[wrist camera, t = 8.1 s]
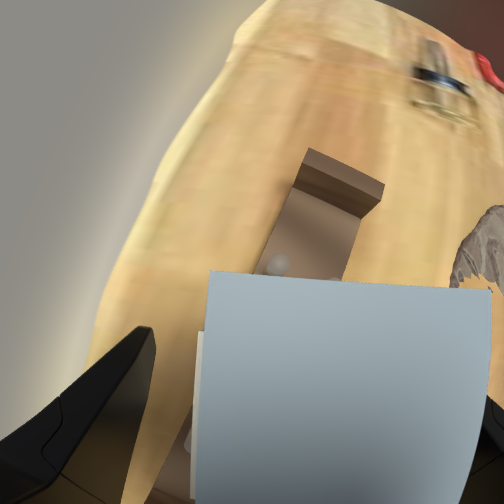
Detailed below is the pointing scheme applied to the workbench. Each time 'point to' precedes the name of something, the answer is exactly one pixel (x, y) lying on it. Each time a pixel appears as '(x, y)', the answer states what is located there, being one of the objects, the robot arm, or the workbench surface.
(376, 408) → the frame block
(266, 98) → the workbench surface
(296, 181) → the rail
